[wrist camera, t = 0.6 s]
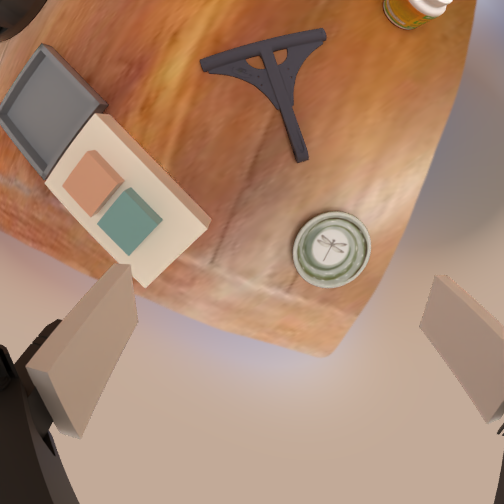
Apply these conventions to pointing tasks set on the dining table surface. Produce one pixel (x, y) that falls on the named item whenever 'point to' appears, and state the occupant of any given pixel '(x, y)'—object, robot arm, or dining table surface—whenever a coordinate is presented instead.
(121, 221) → the green glazed tile
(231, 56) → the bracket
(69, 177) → the terracotta tile
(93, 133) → the cream board
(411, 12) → the supplement bottle
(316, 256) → the saucer
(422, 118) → the dining table surface
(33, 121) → the tray
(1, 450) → the robot arm
